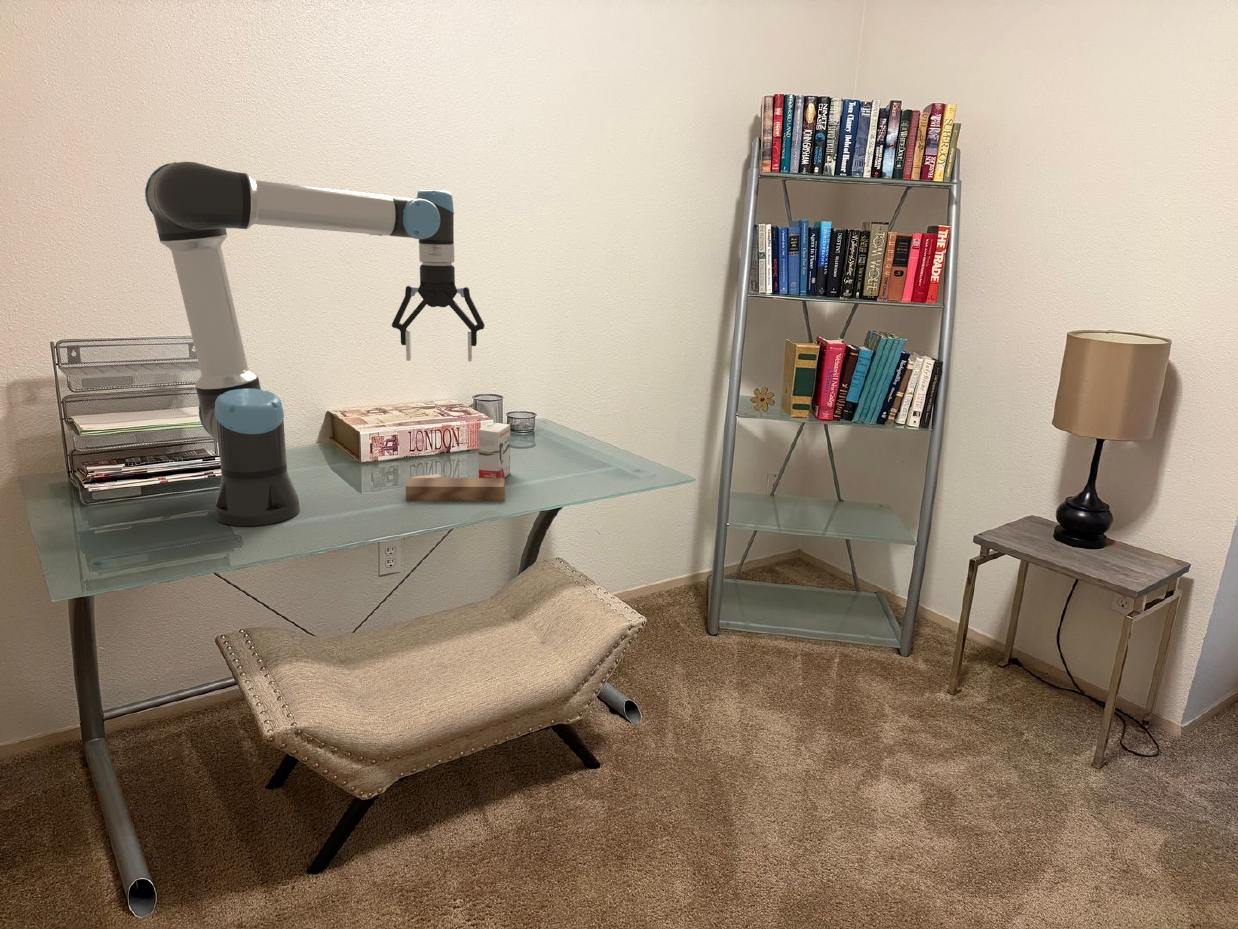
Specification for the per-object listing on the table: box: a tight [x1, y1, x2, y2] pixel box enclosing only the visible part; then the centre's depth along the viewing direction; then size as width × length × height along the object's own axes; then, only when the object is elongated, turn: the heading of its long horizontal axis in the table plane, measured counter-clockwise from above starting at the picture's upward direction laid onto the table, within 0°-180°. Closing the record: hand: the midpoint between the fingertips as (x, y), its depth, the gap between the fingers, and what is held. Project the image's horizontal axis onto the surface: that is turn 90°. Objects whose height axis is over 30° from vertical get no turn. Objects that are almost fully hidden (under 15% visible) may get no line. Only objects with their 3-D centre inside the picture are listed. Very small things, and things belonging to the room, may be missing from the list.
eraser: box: [411, 473, 443, 478], centre depth 189 cm, size 6×2×2 cm, turn 119°
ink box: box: [477, 422, 511, 479], centre depth 194 cm, size 9×5×12 cm, turn 168°
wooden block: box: [404, 477, 506, 501], centre depth 182 cm, size 20×6×3 cm, turn 96°
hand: (439, 360), depth 196 cm, fingers open, 13 cm apart
